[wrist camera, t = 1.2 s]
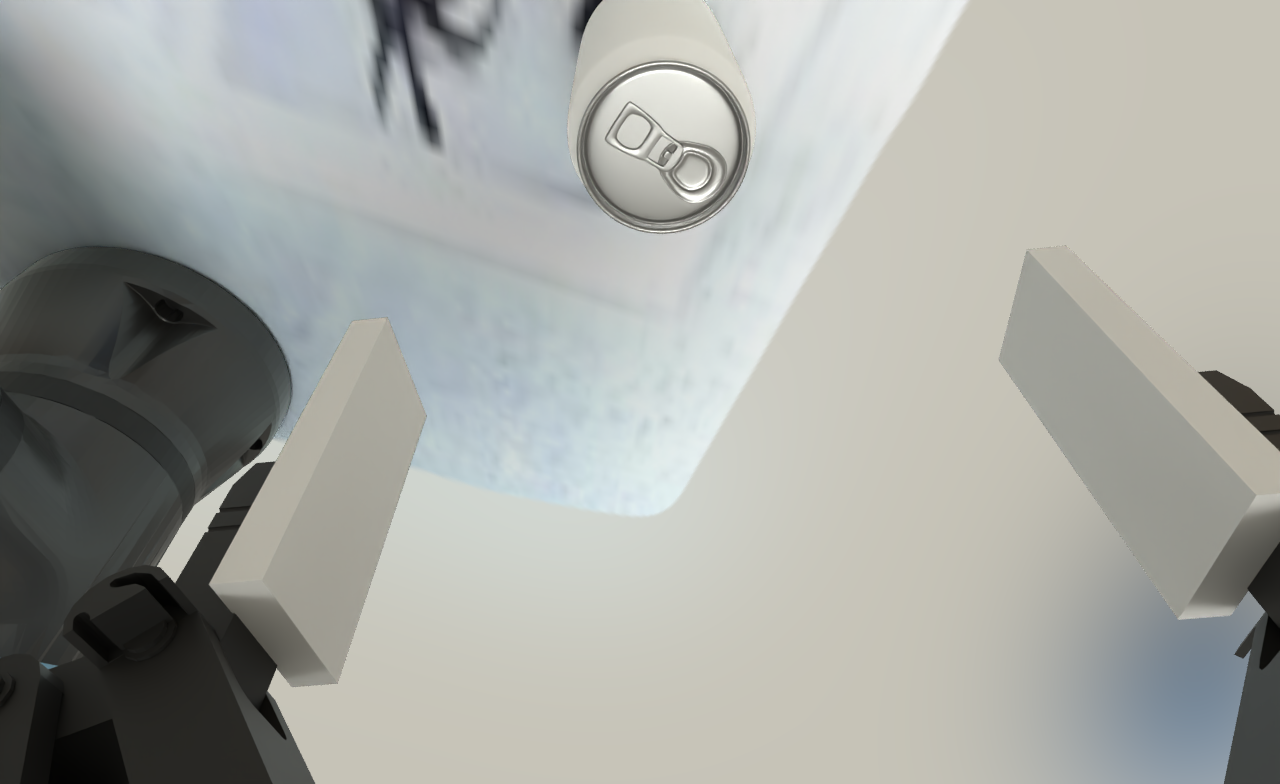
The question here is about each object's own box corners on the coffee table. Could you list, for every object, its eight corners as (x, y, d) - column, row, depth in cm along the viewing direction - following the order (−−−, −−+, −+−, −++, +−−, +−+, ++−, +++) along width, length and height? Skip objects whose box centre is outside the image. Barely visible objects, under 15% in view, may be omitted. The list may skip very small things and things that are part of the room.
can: (668, 155, 35) (685, 277, 26) (553, 78, 33) (526, 181, 23) (752, 35, 32) (806, 125, 22) (631, -60, 29) (635, -4, 20)
